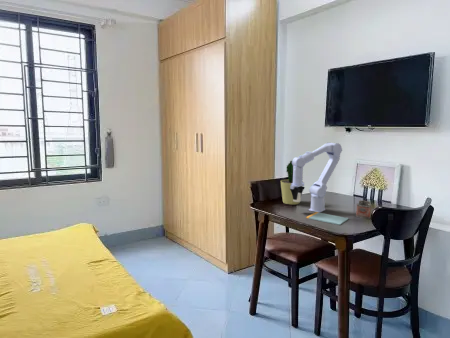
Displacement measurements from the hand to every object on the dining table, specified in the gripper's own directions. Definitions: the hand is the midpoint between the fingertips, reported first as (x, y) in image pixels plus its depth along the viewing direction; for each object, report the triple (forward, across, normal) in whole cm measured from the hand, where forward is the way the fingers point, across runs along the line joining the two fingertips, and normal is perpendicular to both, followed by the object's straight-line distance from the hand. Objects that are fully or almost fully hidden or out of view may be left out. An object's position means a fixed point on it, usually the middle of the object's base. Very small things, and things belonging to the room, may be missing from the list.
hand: (296, 198), depth 200 cm
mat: (+8, +1, +21) cm, 23 cm away
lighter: (+9, -16, +35) cm, 39 cm away
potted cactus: (+9, -20, -14) cm, 26 cm away
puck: (+1, 0, 0) cm, 1 cm away
